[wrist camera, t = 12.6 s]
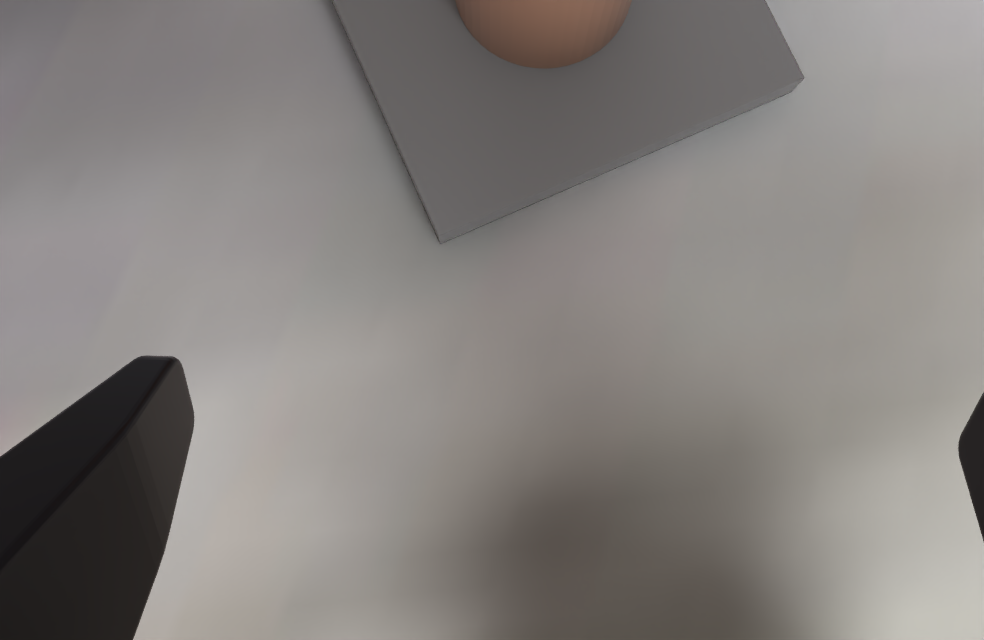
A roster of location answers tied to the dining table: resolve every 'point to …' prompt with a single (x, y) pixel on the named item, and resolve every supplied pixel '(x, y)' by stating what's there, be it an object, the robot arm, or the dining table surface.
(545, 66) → the terracotta cylinder
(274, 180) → the dining table surface
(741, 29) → the mat
